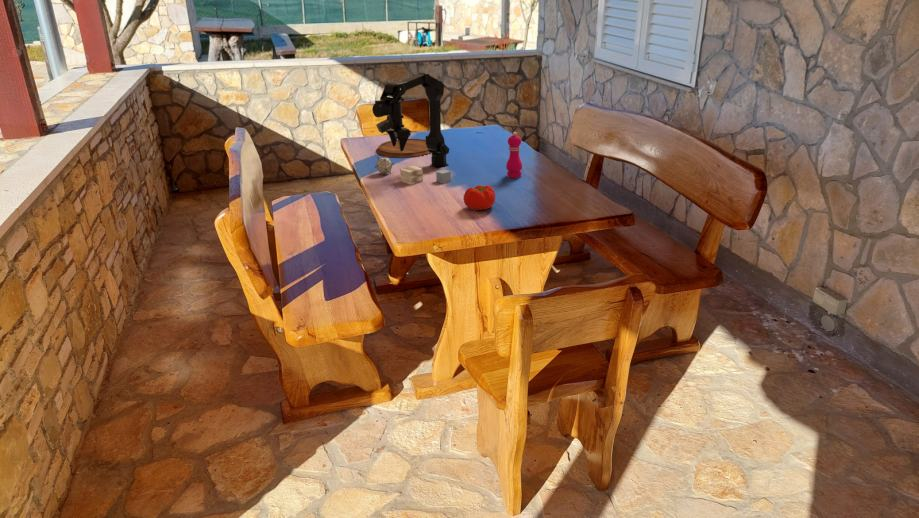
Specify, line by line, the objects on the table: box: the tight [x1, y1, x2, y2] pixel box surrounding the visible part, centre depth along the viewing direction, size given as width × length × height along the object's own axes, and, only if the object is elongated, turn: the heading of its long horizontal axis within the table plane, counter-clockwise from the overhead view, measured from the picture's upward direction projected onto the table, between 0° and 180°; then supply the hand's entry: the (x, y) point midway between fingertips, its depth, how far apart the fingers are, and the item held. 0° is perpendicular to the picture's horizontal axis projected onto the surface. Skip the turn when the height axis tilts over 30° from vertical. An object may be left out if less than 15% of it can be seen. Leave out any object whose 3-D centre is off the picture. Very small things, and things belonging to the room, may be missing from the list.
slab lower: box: [400, 175, 424, 186], centre depth 280 cm, size 7×7×3 cm
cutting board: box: [376, 138, 432, 159], centre depth 329 cm, size 32×32×2 cm
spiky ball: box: [374, 156, 395, 176], centre depth 290 cm, size 9×8×10 cm
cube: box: [435, 169, 452, 184], centre depth 278 cm, size 4×4×4 cm
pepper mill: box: [505, 131, 523, 179], centre depth 279 cm, size 7×7×20 cm
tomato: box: [463, 184, 496, 211], centre depth 245 cm, size 13×12×8 cm
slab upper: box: [399, 165, 424, 179], centre depth 278 cm, size 7×7×3 cm
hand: (397, 148), depth 278 cm, fingers open, 9 cm apart
